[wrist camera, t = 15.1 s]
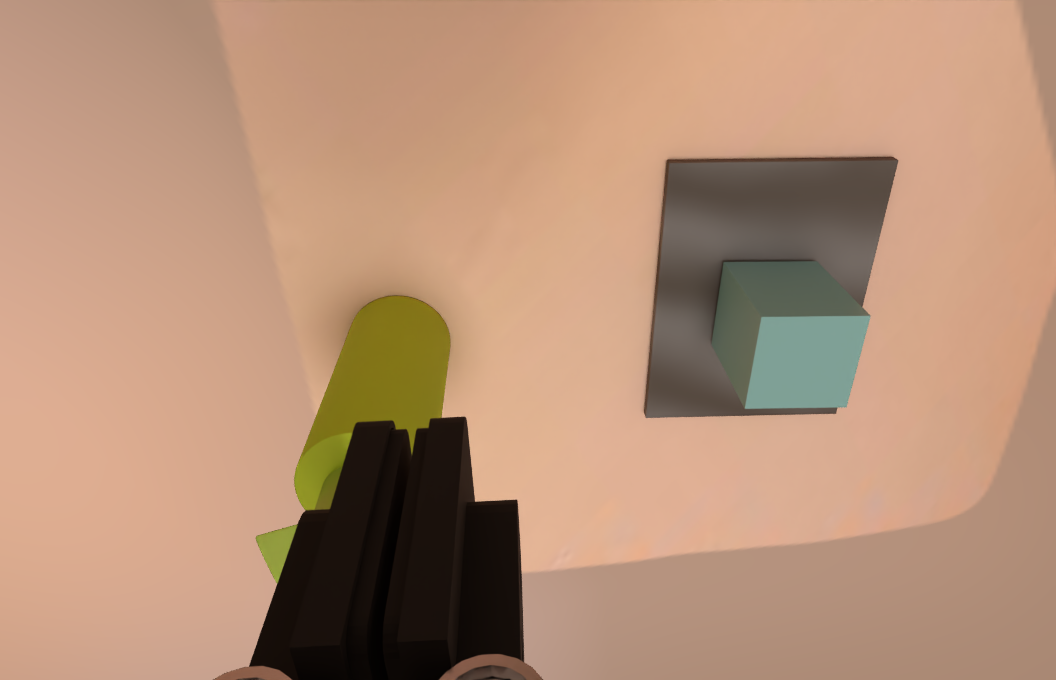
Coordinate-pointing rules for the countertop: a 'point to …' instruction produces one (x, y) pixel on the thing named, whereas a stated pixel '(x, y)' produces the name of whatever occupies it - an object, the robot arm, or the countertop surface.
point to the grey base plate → (750, 257)
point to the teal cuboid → (787, 334)
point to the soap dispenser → (369, 398)
